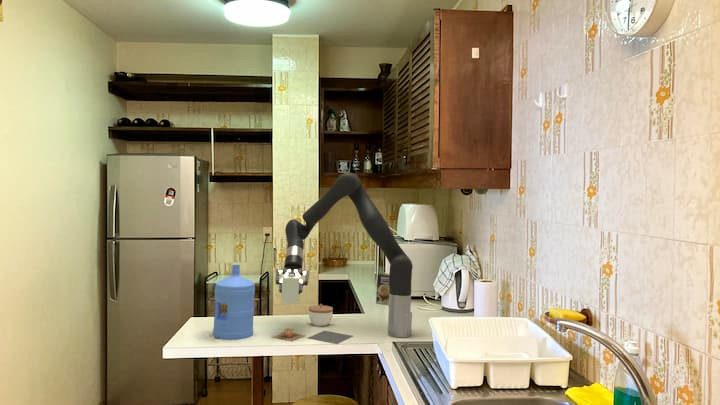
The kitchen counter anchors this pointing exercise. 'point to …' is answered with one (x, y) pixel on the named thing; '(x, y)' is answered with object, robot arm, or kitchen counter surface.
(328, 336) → the mat
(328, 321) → the lidded jar
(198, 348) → the kitchen counter surface
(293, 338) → the coaster
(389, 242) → the robot arm
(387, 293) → the coffee box
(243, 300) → the water jug
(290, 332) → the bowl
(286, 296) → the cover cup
